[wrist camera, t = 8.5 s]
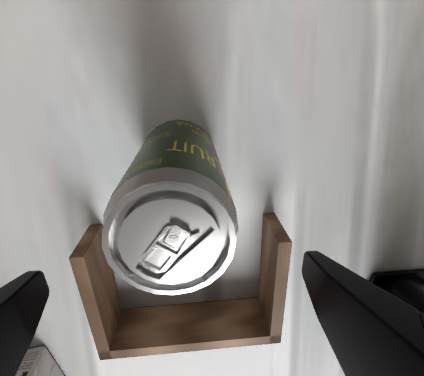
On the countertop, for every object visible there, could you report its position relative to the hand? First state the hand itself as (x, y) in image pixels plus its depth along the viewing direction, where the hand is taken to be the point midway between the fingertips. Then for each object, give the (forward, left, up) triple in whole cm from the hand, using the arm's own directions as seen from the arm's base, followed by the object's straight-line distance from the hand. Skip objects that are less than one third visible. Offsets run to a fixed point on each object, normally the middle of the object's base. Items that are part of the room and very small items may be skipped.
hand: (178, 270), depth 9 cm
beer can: (0, -1, -13) cm, 13 cm away
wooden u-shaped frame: (0, +11, -13) cm, 17 cm away
